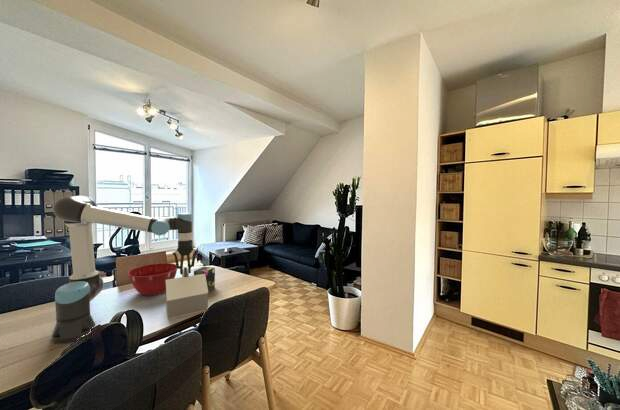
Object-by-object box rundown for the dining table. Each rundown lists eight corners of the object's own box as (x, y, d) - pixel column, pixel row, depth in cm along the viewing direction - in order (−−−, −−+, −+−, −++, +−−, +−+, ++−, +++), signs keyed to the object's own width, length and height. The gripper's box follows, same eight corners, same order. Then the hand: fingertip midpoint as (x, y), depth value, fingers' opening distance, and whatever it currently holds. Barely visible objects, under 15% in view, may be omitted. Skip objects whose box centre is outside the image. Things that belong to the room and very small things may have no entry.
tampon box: (206, 294, 166) (205, 272, 166) (193, 292, 168) (193, 271, 167) (215, 287, 177) (215, 267, 176) (203, 286, 179) (203, 266, 178)
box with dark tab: (166, 305, 136) (167, 300, 132) (164, 275, 147) (164, 270, 143) (207, 297, 147) (208, 291, 144) (202, 270, 158) (203, 264, 155)
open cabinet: (167, 319, 134) (167, 301, 133) (166, 310, 144) (166, 292, 143) (207, 310, 145) (207, 293, 144) (203, 302, 155) (203, 286, 154)
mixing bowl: (116, 297, 158) (116, 273, 157) (154, 281, 186) (154, 261, 185) (154, 303, 152) (153, 278, 151) (187, 286, 179) (187, 264, 178)
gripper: (171, 242, 139) (171, 283, 141) (199, 239, 147) (200, 278, 149) (170, 239, 146) (170, 279, 147) (197, 237, 154) (197, 275, 155)
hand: (185, 279), depth 148 cm, fingers closed on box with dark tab, 2 cm apart
